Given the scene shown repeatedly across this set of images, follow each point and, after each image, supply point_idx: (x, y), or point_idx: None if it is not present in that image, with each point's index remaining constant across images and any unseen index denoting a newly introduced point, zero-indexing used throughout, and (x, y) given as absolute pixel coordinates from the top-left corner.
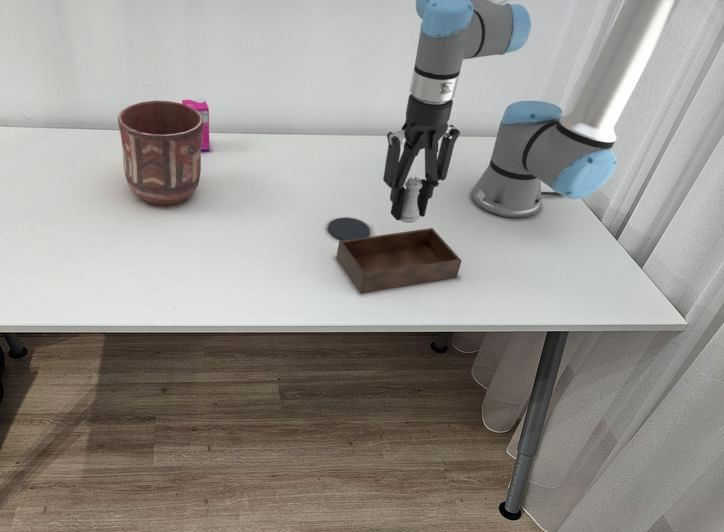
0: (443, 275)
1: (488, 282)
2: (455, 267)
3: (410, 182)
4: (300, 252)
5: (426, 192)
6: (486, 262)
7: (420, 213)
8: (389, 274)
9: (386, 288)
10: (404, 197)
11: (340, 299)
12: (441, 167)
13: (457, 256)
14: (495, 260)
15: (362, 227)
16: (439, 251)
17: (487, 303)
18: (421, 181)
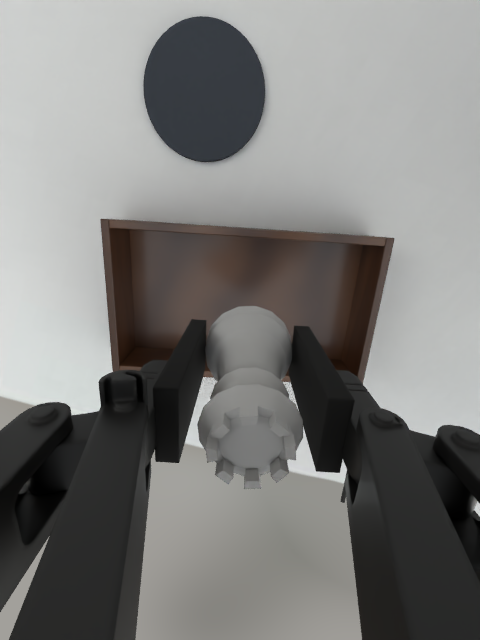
0: None
1: (394, 392)
2: None
3: (217, 455)
4: (40, 163)
5: (309, 443)
6: (444, 337)
7: (290, 370)
8: None
9: None
10: (187, 429)
11: (86, 354)
12: (477, 576)
13: (364, 371)
14: (467, 336)
15: (245, 100)
16: (359, 300)
17: None
18: (325, 405)
